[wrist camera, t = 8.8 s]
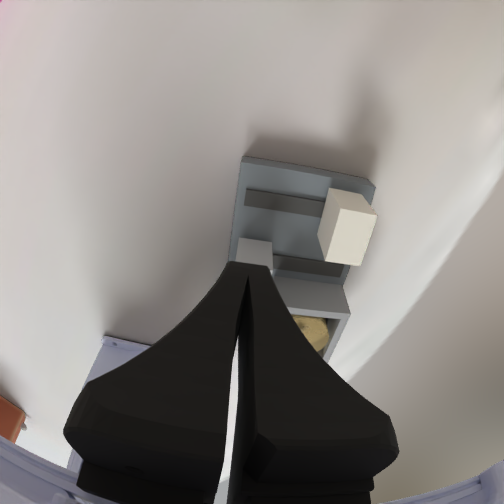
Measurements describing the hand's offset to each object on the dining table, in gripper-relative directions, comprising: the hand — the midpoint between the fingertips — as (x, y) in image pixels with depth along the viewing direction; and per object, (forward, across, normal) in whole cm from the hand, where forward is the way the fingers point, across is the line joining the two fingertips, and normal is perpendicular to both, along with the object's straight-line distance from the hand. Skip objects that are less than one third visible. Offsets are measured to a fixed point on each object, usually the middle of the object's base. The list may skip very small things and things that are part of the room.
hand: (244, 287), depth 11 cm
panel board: (+10, -3, +4) cm, 11 cm away
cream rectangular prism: (+8, -5, 0) cm, 9 cm away
